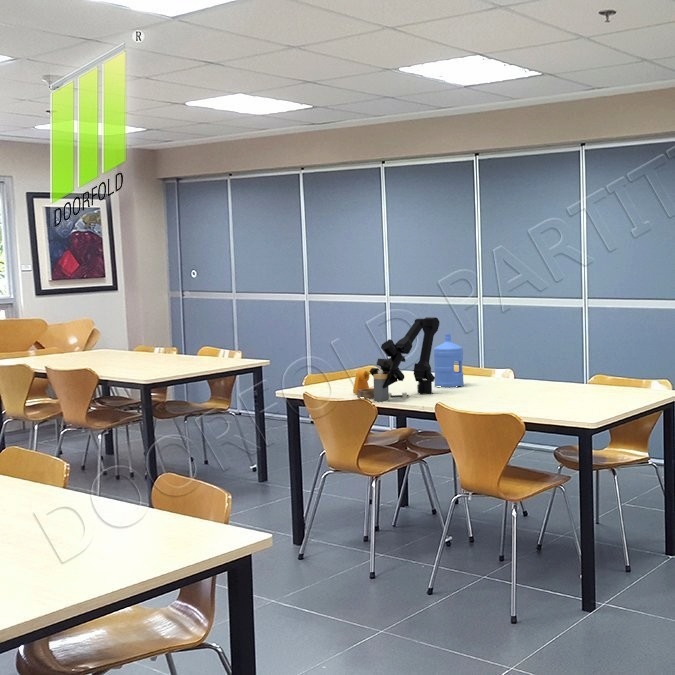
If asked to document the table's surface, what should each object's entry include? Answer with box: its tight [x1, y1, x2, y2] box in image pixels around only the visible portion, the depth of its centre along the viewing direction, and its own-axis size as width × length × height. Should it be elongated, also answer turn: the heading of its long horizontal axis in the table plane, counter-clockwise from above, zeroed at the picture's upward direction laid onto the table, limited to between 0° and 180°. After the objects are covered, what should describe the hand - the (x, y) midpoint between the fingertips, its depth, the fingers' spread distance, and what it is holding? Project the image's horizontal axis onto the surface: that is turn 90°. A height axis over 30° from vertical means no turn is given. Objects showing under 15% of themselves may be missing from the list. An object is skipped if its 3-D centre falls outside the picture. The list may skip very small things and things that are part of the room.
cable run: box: [391, 394, 410, 398], centre depth 459 cm, size 15×2×1 cm, turn 83°
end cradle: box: [356, 389, 374, 400], centre depth 460 cm, size 10×10×4 cm
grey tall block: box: [373, 370, 390, 403], centre depth 445 cm, size 5×5×14 cm
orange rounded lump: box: [352, 370, 374, 395], centre depth 475 cm, size 11×7×12 cm
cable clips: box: [389, 392, 408, 398], centre depth 459 cm, size 10×4×2 cm, turn 86°
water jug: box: [433, 333, 465, 388], centre depth 496 cm, size 16×16×28 cm
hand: (379, 387), depth 445 cm, fingers closed on grey tall block, 5 cm apart
